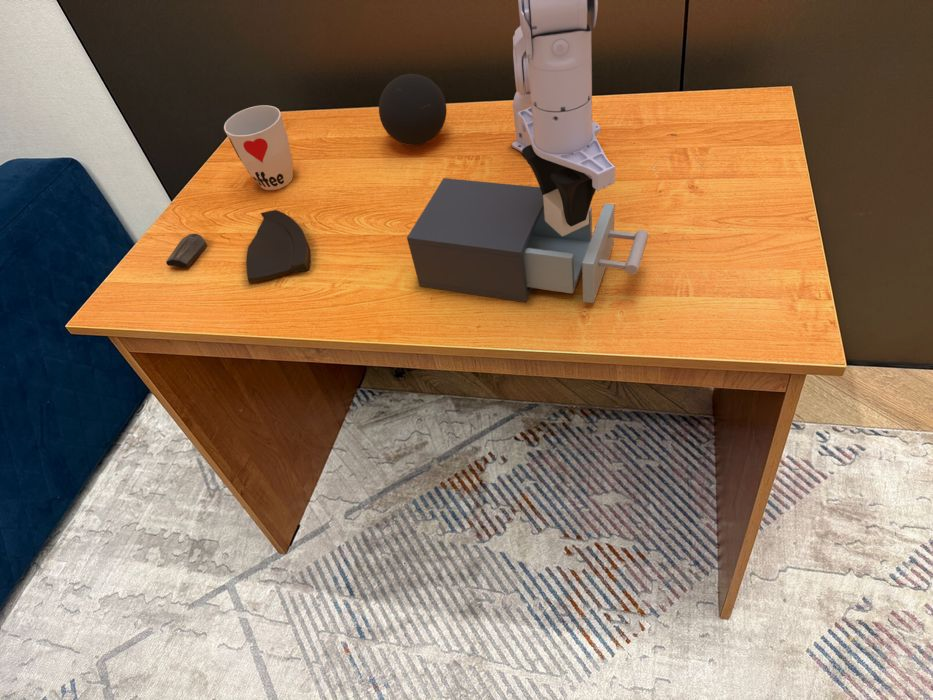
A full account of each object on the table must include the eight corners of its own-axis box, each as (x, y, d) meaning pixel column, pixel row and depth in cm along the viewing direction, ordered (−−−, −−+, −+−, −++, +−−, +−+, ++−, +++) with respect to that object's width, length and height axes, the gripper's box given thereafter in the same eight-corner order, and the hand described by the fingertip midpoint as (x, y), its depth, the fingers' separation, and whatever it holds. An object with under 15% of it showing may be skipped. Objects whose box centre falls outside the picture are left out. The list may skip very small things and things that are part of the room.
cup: (240, 193, 104) (212, 133, 96) (269, 162, 109) (245, 103, 101) (284, 199, 101) (260, 138, 94) (312, 167, 106) (291, 107, 98)
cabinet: (553, 238, 87) (550, 187, 81) (526, 302, 80) (520, 252, 74) (453, 226, 91) (443, 177, 86) (419, 286, 84) (406, 237, 79)
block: (168, 270, 94) (162, 260, 92) (187, 241, 98) (181, 231, 96) (192, 270, 93) (186, 260, 92) (210, 241, 97) (205, 230, 95)
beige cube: (544, 221, 77) (542, 195, 75) (571, 208, 78) (570, 182, 76) (562, 236, 75) (560, 210, 73) (589, 224, 76) (588, 197, 73)
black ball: (402, 120, 111) (388, 60, 104) (460, 124, 108) (450, 62, 101) (376, 156, 105) (360, 94, 98) (437, 161, 102) (424, 97, 95)
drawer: (650, 247, 82) (653, 207, 77) (632, 309, 76) (634, 269, 71) (514, 231, 87) (510, 193, 83) (487, 287, 81) (481, 249, 77)
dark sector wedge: (310, 210, 98) (306, 201, 97) (310, 272, 89) (306, 263, 88) (252, 222, 98) (248, 213, 97) (247, 286, 89) (242, 276, 88)
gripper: (644, 111, 62) (638, 231, 72) (554, 55, 71) (560, 168, 81) (578, 140, 60) (581, 258, 70) (495, 79, 69) (508, 192, 79)
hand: (566, 212), depth 76 cm, fingers closed on beige cube, 3 cm apart
